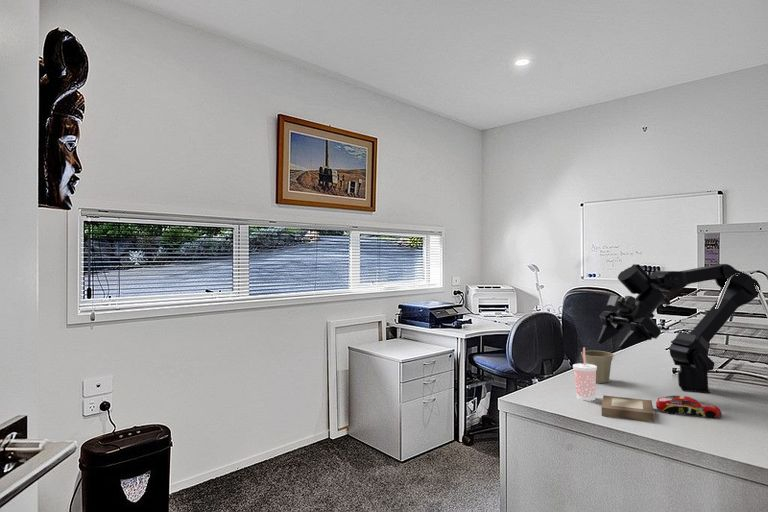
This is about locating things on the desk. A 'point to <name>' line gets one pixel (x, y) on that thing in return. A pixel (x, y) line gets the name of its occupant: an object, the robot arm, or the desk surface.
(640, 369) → the desk surface
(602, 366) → the flower pot
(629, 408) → the walnut slab
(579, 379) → the beverage cup
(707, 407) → the race car
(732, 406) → the desk surface
